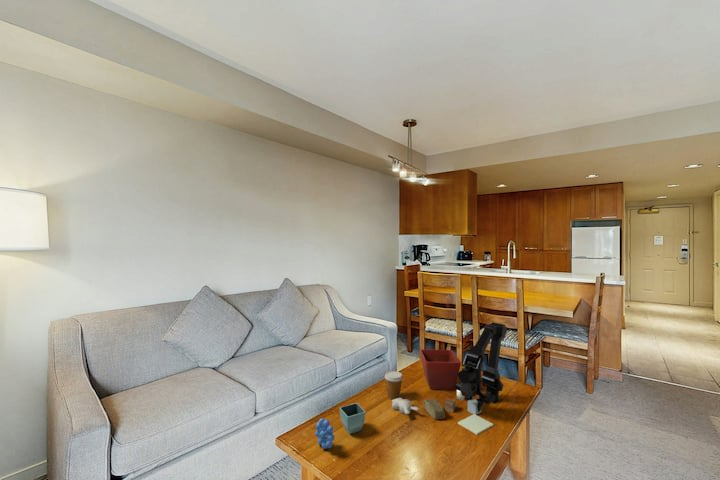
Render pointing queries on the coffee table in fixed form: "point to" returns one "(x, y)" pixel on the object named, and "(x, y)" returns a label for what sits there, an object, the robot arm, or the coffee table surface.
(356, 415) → the flower pot
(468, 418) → the felt mat
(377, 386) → the coffee table surface
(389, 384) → the disposable coffee cup
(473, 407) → the slate-blue block
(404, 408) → the bunny figurine
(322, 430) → the grapes
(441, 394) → the coffee table surface
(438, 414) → the stone block
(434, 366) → the plant pot
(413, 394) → the coffee table surface
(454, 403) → the walnut cube
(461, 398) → the ivory rounded cylinder
